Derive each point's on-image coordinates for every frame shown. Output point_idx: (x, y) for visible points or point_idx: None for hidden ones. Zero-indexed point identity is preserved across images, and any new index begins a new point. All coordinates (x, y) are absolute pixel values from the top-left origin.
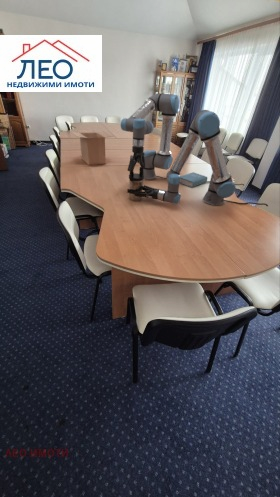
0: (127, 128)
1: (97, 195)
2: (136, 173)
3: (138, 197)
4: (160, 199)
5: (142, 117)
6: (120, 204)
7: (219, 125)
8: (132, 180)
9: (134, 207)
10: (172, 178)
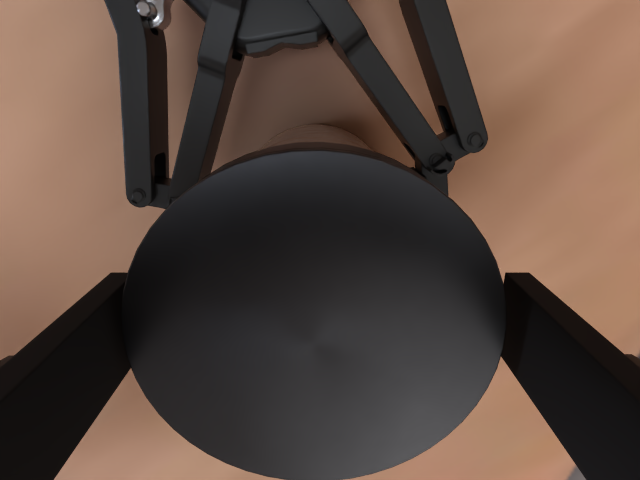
0: None
1: (480, 463)
2: (177, 423)
3: (358, 139)
4: None
5: None
6: (545, 226)
7: None
8: (539, 286)
9: (540, 66)
10: None
